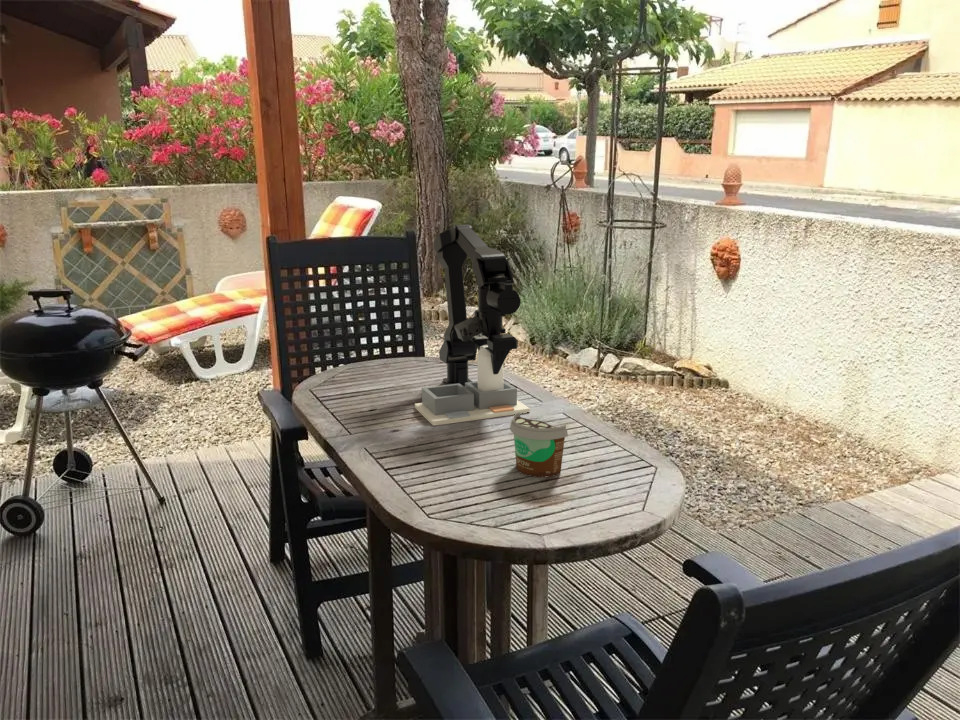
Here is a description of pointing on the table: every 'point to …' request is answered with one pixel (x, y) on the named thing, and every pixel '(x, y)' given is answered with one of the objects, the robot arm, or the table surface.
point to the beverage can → (487, 372)
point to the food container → (537, 446)
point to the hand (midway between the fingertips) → (490, 370)
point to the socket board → (468, 403)
